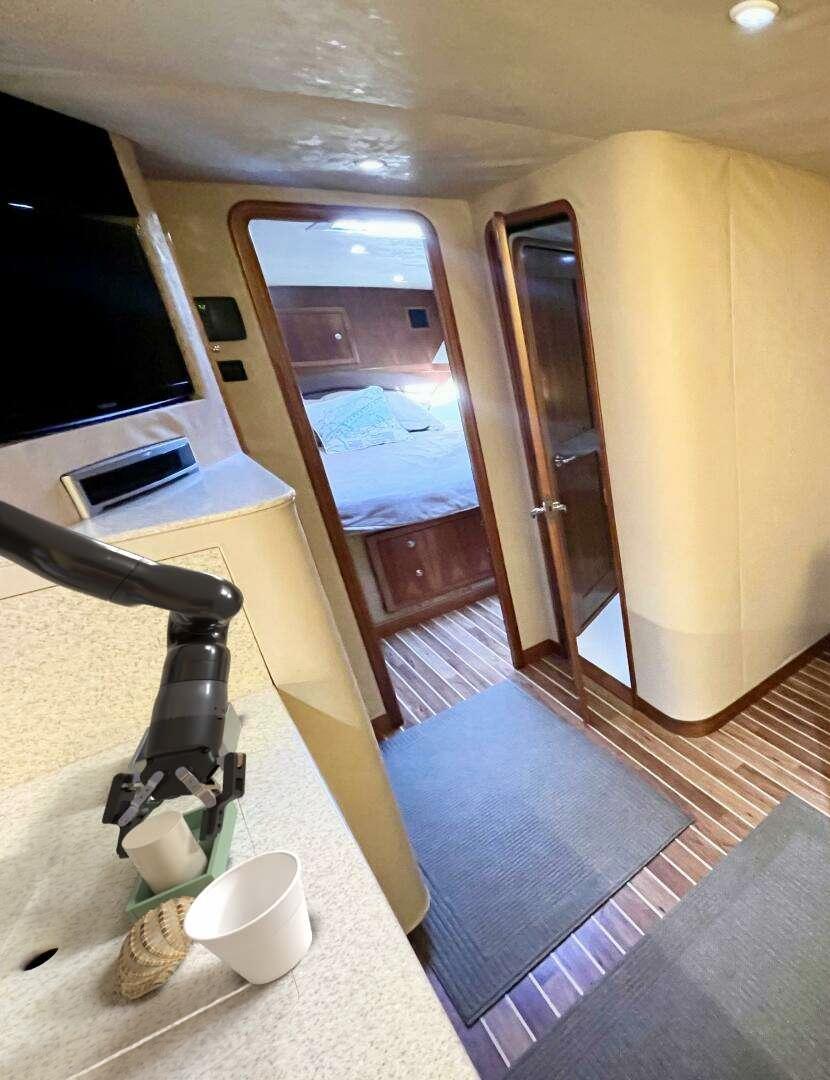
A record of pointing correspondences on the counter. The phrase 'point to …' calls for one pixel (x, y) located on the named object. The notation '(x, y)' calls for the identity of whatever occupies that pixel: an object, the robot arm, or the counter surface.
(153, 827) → the cream round block
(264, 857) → the cup
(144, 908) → the divided tray
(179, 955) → the seashell
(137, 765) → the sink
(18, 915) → the counter surface
